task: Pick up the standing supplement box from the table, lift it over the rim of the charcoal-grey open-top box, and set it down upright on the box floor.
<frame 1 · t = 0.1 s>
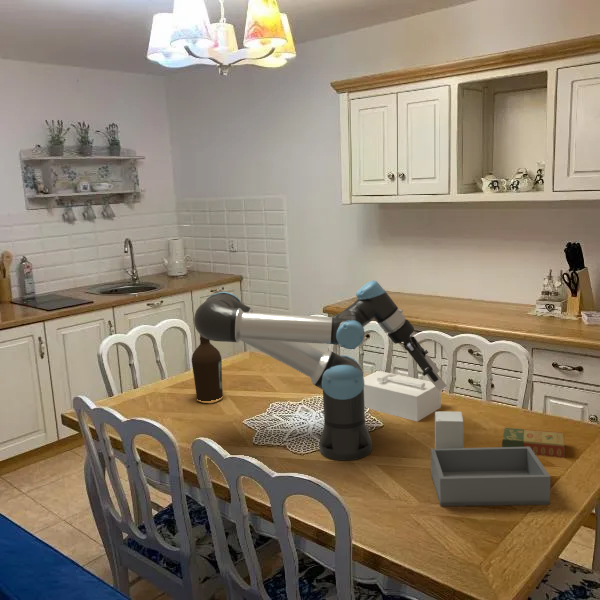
hand: (439, 380, 186), 15 cm above the table, tool tilted 35°, fingers open, 13 cm apart
hammer embossed block: (397, 407, 208), on the table
open box: (486, 488, 152), on the table
olive oil: (210, 400, 225), on the table
supplement box: (449, 460, 168), on the table
carton: (532, 449, 172), on the table
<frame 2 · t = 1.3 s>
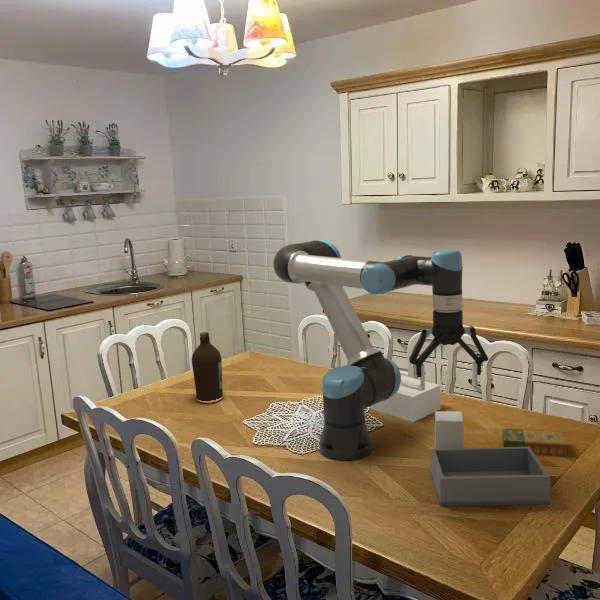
hand: (448, 387, 164), 21 cm above the table, tool pointing down, fingers open, 13 cm apart
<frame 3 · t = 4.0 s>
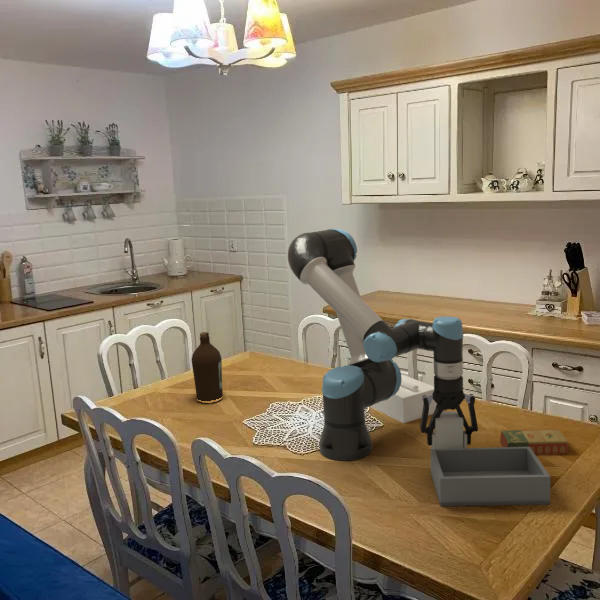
hand: (449, 455, 168), 1 cm above the table, tool pointing down, fingers closed on supplement box, 8 cm apart
supplement box: (449, 460, 168), on the table, touching gripper
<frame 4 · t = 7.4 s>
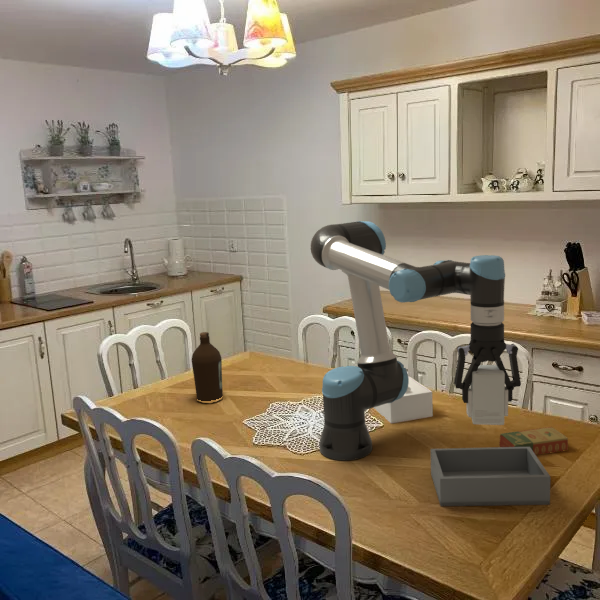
hand: (487, 414, 148), 19 cm above the table, tool pointing down, fingers closed on supplement box, 8 cm apart
supplement box: (487, 420, 149), point 18 cm above the table, touching gripper
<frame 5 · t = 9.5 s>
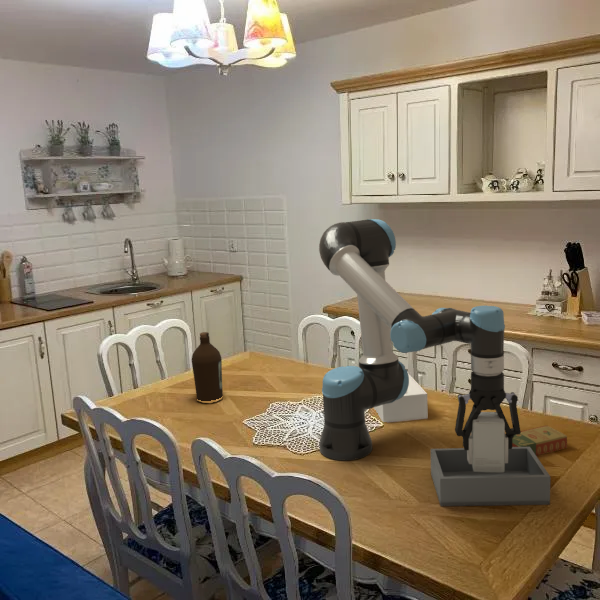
hand: (487, 461, 150), 7 cm above the table, tool pointing down, fingers closed on supplement box, 8 cm apart
supplement box: (487, 466, 151), point 6 cm above the table, touching gripper
when the fingers open (4 cm above the table, at t = 11.1 s): supplement box drops 1 cm, resting on open box.
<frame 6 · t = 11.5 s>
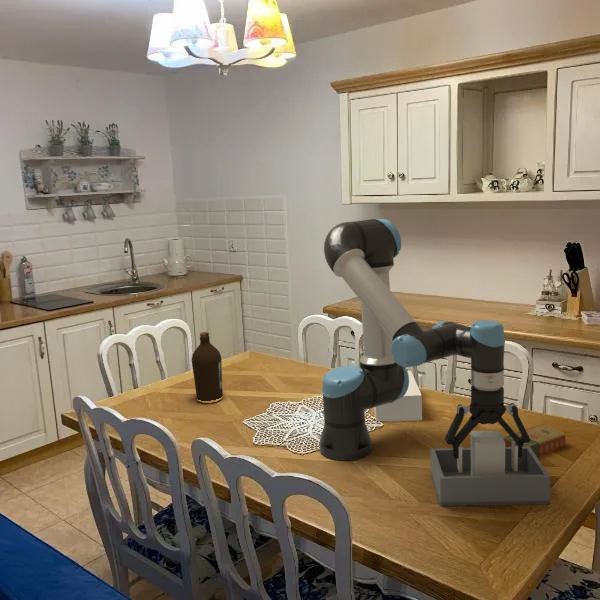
hand: (486, 469, 151), 5 cm above the table, tool pointing down, fingers open, 12 cm apart
supplement box: (487, 485, 152), point 1 cm above the table, touching open box
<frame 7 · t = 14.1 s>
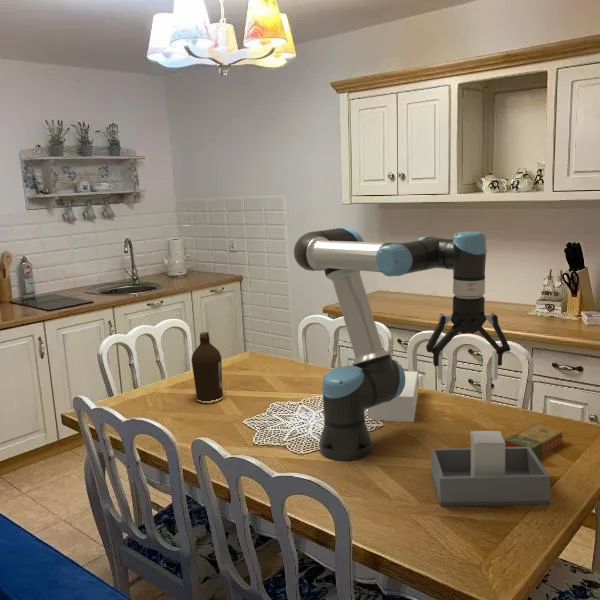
hand: (466, 378, 155), 26 cm above the table, tool pointing down, fingers open, 13 cm apart
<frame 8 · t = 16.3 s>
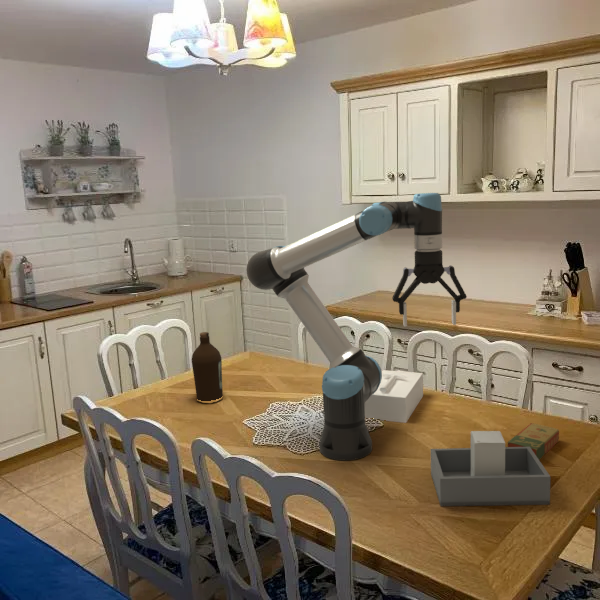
hand: (429, 324, 174), 35 cm above the table, tool pointing down, fingers open, 13 cm apart
at the end: supplement box inside the target area on the open box (0.1 cm from its centre), point 0.8 cm above the open box's base; supplement box tilted 0°; the gripper is holding nothing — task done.
